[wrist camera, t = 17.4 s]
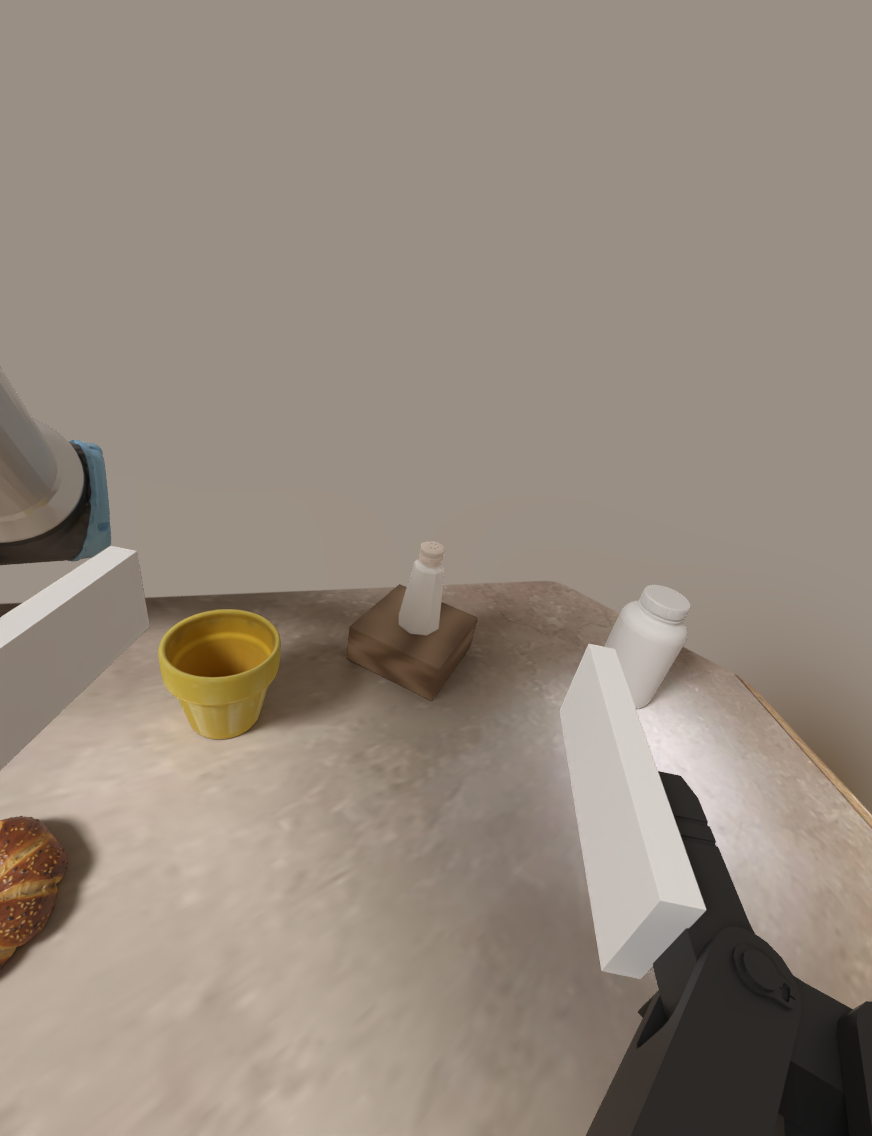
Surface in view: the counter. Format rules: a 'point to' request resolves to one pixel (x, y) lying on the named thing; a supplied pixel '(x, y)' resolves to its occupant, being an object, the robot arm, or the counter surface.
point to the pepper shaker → (424, 592)
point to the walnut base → (410, 645)
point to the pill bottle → (649, 639)
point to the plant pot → (220, 669)
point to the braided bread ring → (26, 880)
